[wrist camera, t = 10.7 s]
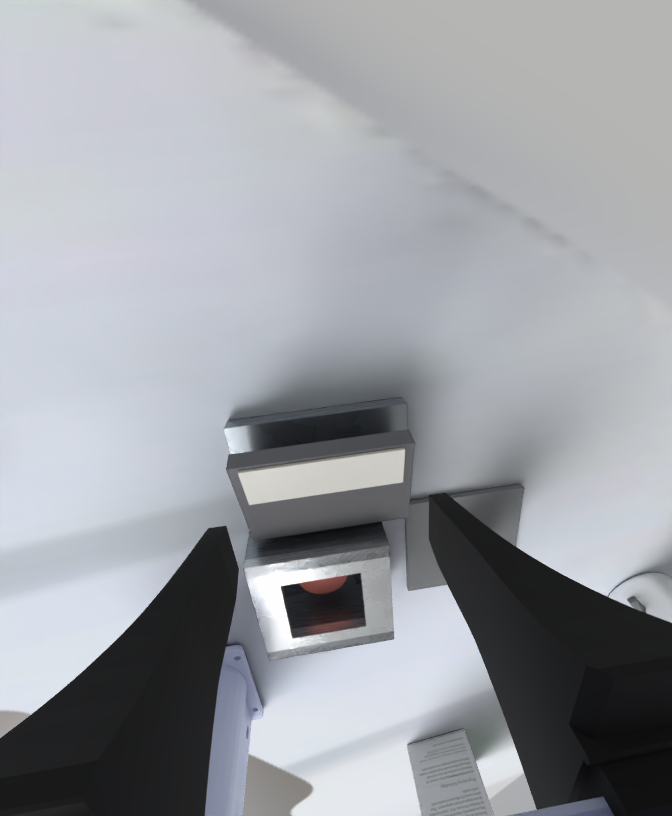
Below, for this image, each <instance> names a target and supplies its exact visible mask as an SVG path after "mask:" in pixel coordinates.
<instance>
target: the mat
mask: <svg viewBox="0 0 672 816" xmlns="http://www.w3.org/2000/svg"><path fill="white" fill-rule="evenodd" d="M523 491H524V487H523V486H522V485H521V484H516V485H510V486H503V487H497V488H490V489H483V490H477V491H470V492H463V493H457V494H450V495H449V496H450V497H451V498H453V499H454V500H455V501H456V502H458V503H459V504H460V505H461V506H462V507H464V508H465V509H466V510H467V511H469V512H470V513H471V514H472V515H473V516H475V517H476V518H477V519H479V520H480V521H481V522H482V523H484V524H485V525H486V526H488V527H489V528H490V529H492V530H493V531H494V532H496V533H497V534H498V535H500V536H501V537H502V538H504V539H505V540H507V541H508V542H510V543H511V544H513V545H514V546H516V541H517V534H518V527H519V520H520V513H521V506H522V498H523ZM405 536H406V573H407V588H408V591H411V590H417V589H423V588H429V587H435V586H441V585H447V582H446V580H445V578H444V576H443V574H442V572H441V570H440V568H439V566H438V564H437V561H436V558H435V556H434V553H433V550H432V547H431V544H430V541H429V498H424V499H417V500H411V501H410V502H409V513H408V517H407V518H405Z"/></svg>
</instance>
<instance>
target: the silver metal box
mask: <svg viewBox="0 0 672 816" xmlns="http://www.w3.org/2000/svg"><path fill="white" fill-rule="evenodd" d="M400 430H407V404H406V402H405V401H404V400H403V398H402V397H399V398H392V399H385V400H377V401H370V402H362V403H355V404H348V405H340V406H333V407H325V408H318V409H310V410H303V411H296V412H288V413H281V414H273V415H266V416H258V417H251V418H244V419H236V420H229V421H227V423H226V425H225V427H224V431H225V435H226V439H227V442H228V446H229V450H230V454H236V453H243V452H250V451H258V450H265V449H272V448H279V447H286V446H293V445H300V444H308V443H315V442H322V441H329V440H336V439H343V438H350V437H358V436H365V435H372V434H379V433H386V432H393V431H400ZM243 569H244V573H245V576H246V580H247V583H248V587H249V590H250V594H251V597H252V601H253V604H254V608H255V611H256V615H257V618H258V622H259V625H260V629H261V632H262V636H263V639H264V643H265V646H266V650H267V653H268V657H269V660H270V661H271V660H277V659H283V658H288V657H294V656H300V655H306V654H312V653H317V652H323V651H329V650H335V649H340V648H346V647H352V646H358V645H364V644H369V643H375V642H381V641H387V640H393V639H394V627H393V608H392V589H391V570H390V551H389V544H388V540H387V537H386V534H385V531H384V528H383V525H382V522H374V523H368V524H361V525H355V526H348V527H342V528H335V529H329V530H322V531H316V532H309V533H303V534H296V535H290V536H283V537H277V538H270V539H264V540H257V541H254V540H253V537H252V535H251V532H249V538H248V544H247V550H246V556H245V562H244V568H243ZM345 575H347V578H346V581H345V582H344V584H343V585H342V586H341V587H340V588H338V589H337V590H335V591H332V592H329V593H324V594H316V593H311V592H308V591H306V590H305V589H303V588H302V587H301V585H300V584H299V583H302V582H308V581H314V580H320V579H326V578H333V577H339V576H345Z"/></svg>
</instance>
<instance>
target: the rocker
mask: <svg viewBox="0 0 672 816" xmlns="http://www.w3.org/2000/svg"><path fill="white" fill-rule="evenodd" d="M414 446H415V442H414V440H413V438H412V435H411V433H410V431H409V429H408V430H400V431H393V432H386V433H379V434H372V435H365V436H358V437H350V438H343V439H336V440H329V441H322V442H315V443H308V444H300V445H293V446H286V447H279V448H272V449H265V450H258V451H250V452H243V453H236V454H229V456H228V462H227V468H226V470H227V473H228V476H229V478H230V481H231V483H232V486H233V488H234V491H235V494H236V496H237V499H238V501H239V504H240V507H241V509H242V512H243V514H244V517H245V519H246V522H247V525H248V527H249V530H250V532H251V535H252V537H253V540H254V541H257V540H264V539H270V538H277V537H283V536H290V535H296V534H303V533H309V532H316V531H322V530H329V529H335V528H342V527H348V526H355V525H361V524H368V523H374V522H381V521H387V520H394V519H400V518H407V517H408V513H409V502H410V491H411V480H412V468H413V457H414Z"/></svg>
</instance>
